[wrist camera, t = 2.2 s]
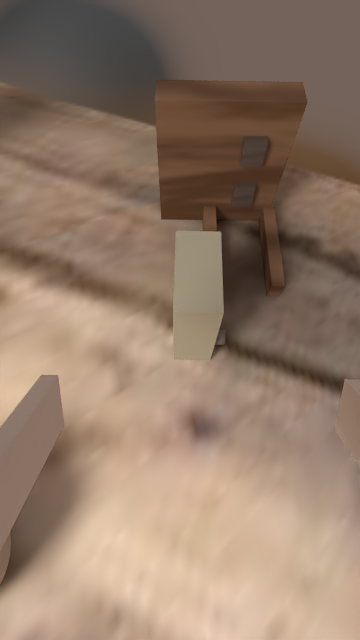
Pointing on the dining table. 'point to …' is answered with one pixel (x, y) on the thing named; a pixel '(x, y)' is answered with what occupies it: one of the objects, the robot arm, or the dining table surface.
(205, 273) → the block
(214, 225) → the wooden stand
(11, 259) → the dining table surface
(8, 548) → the teacup
